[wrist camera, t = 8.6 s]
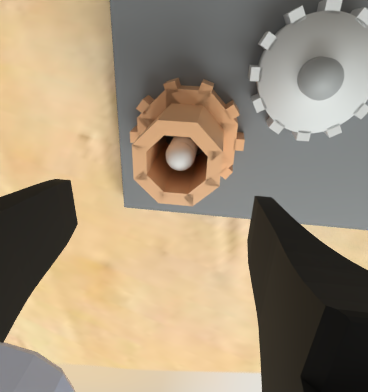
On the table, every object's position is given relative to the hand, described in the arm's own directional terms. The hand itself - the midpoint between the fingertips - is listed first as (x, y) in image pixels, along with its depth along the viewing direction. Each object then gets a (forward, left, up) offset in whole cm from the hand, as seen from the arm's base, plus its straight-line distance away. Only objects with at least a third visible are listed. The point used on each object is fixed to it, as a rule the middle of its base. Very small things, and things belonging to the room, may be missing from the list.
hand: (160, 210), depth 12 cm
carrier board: (+7, +4, -10) cm, 13 cm away
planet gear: (0, 0, -9) cm, 9 cm away
